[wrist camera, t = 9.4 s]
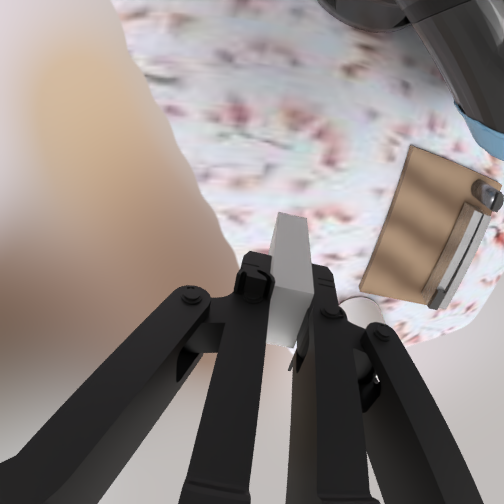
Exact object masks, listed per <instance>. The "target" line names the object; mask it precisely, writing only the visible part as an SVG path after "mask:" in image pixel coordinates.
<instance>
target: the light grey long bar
mask: <svg viewBox="0 0 504 504" xmlns="http://www.w3.org/2000/svg"><path fill="white" fill-rule="evenodd" d="M481 216H482V213H481V212H480V211H479V210H477V209H476V208H475V207H474V206H472V205H470V204H468V203H466V202H465V203H464V205H463V208H462V210H461V213H460V215H459V217H458V220H457V222H456V224H455V227H454V229H453V231H452V233H451V235H450V238H449V240H448V242H447V244H446V246H445V248H444V250H443V252H442V254H441V256H440V258H439V260H438V262H437V264H436V266H435V268H434V270H433V272H432V274H431V276H430V278H429V280H428V282H427V284H426V286H425V287H424V289H423V291H422V293H421V294H422V296H423V298H424V300H425V302H426V304H427V306H428V308H430V309H435V310H437V309H438V308H439V306H440V304H441V303H442V301H443V299H444V297H445V296H446V294H447V293H446V292H445V289H446V287H447V285H448V283H449V281H450V280H451V278H452V276H453V274H454V272H455V270H456V268H457V266H458V265H459V263H460V261H461V259H462V257H463V255H464V253H465V251H466V249H467V247H468V244H469V242H470V240H471V238H472V236H473V234H474V232H475V230H476V227H477V225H478V223H479V221H480V218H481Z"/></svg>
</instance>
